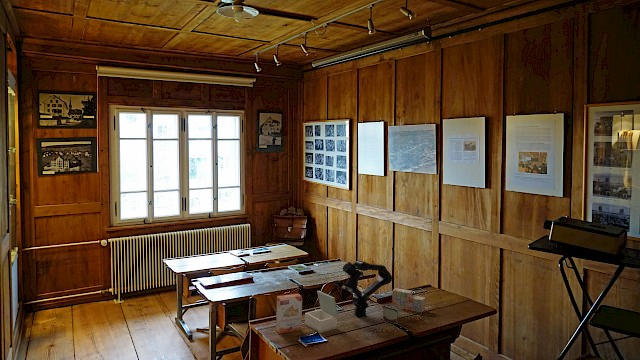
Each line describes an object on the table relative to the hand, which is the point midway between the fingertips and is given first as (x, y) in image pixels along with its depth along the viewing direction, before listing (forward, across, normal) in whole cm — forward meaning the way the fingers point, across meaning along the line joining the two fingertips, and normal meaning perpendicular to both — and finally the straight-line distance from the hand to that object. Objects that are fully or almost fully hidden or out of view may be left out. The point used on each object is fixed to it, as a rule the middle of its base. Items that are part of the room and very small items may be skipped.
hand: (341, 300), depth 284 cm
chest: (+20, +1, +5) cm, 21 cm away
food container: (-5, -25, -23) cm, 35 cm away
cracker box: (+32, +10, +19) cm, 38 cm away
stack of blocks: (-20, -20, -46) cm, 54 cm away
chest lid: (+7, +2, +9) cm, 12 cm away
